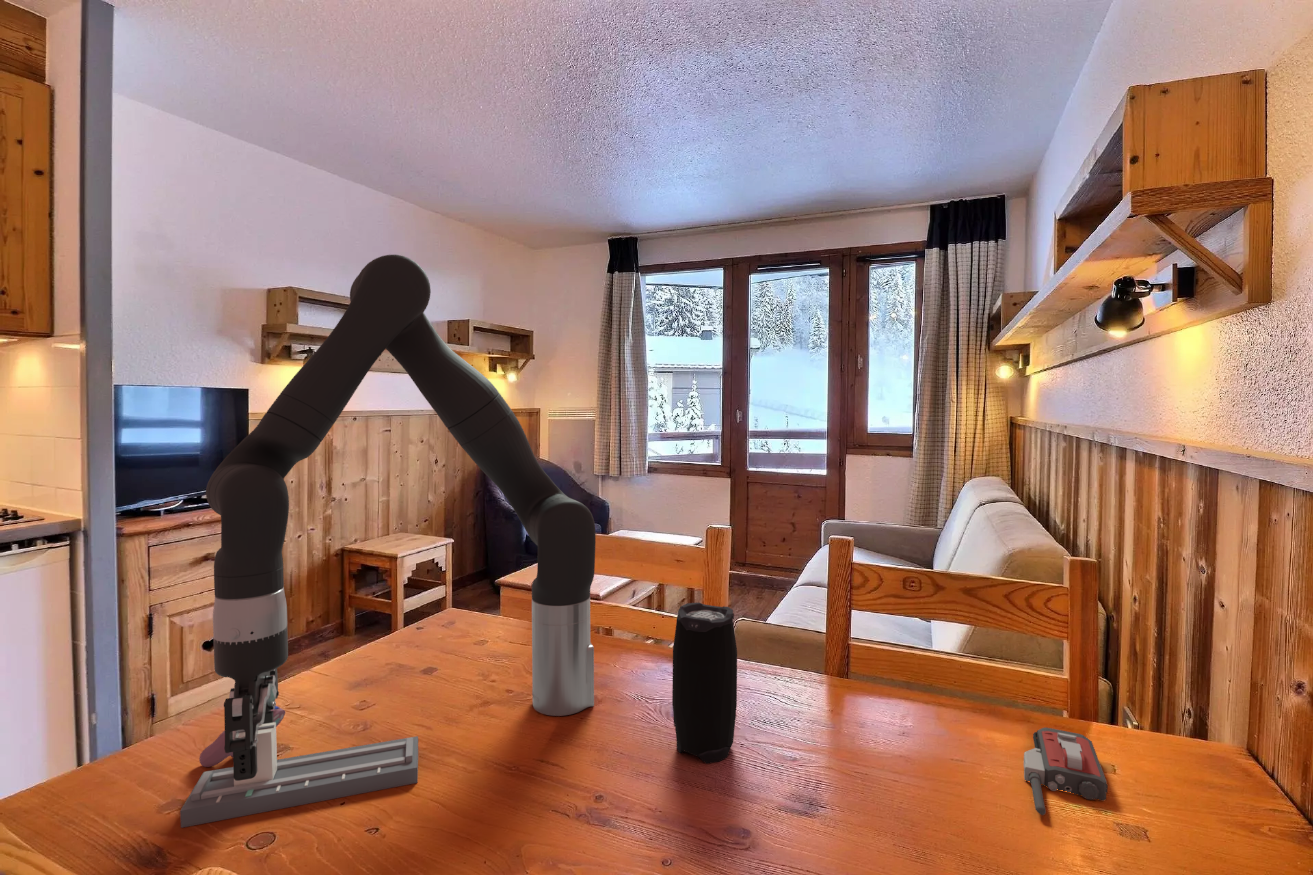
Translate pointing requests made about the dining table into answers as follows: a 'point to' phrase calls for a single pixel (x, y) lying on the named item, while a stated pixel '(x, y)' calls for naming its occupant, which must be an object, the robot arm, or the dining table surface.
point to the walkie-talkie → (1063, 766)
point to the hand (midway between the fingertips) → (255, 758)
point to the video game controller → (216, 749)
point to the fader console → (304, 781)
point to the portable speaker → (704, 681)
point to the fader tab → (263, 754)
